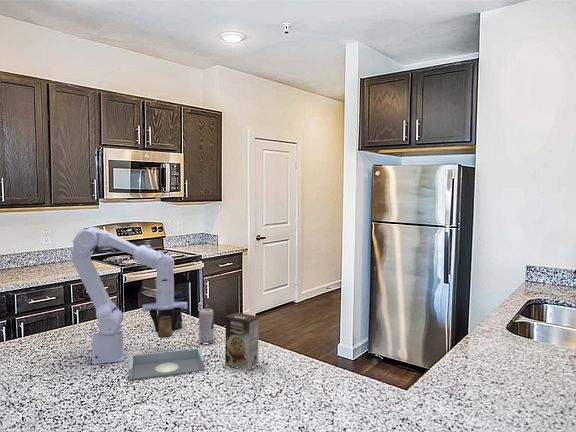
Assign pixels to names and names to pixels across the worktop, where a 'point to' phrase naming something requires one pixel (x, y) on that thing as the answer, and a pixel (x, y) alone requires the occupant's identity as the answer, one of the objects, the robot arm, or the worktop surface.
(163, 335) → the brown cylinder
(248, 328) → the coffee box
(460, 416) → the worktop surface
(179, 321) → the storage jar
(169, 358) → the grey tray
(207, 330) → the energy drink
